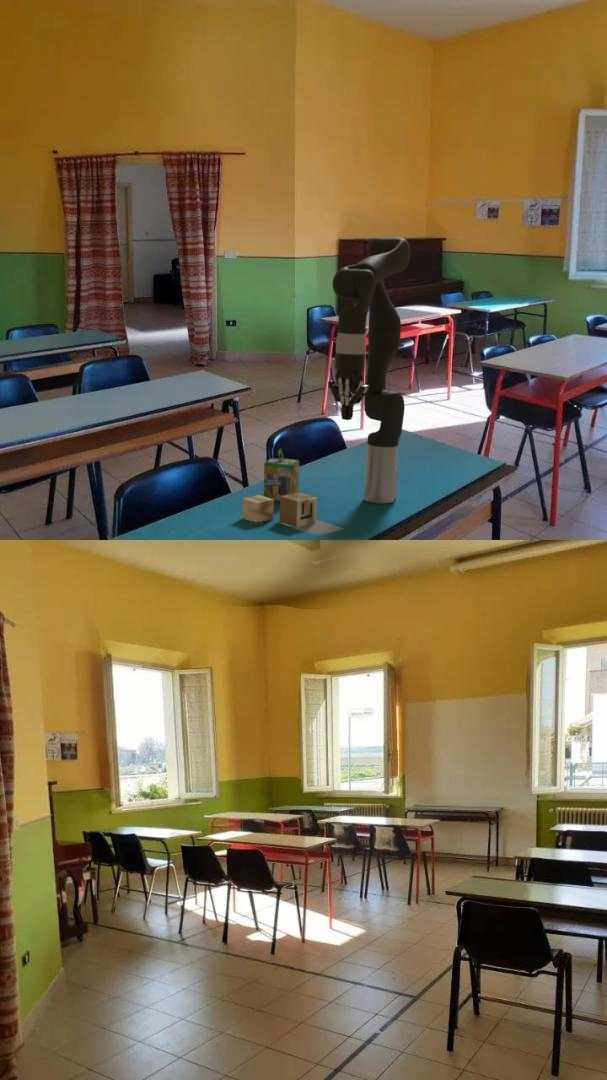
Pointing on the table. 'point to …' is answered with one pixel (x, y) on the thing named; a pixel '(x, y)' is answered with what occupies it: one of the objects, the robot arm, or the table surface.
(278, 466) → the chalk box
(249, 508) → the beech block
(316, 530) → the reading mat
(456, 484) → the table surface
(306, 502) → the walnut block
